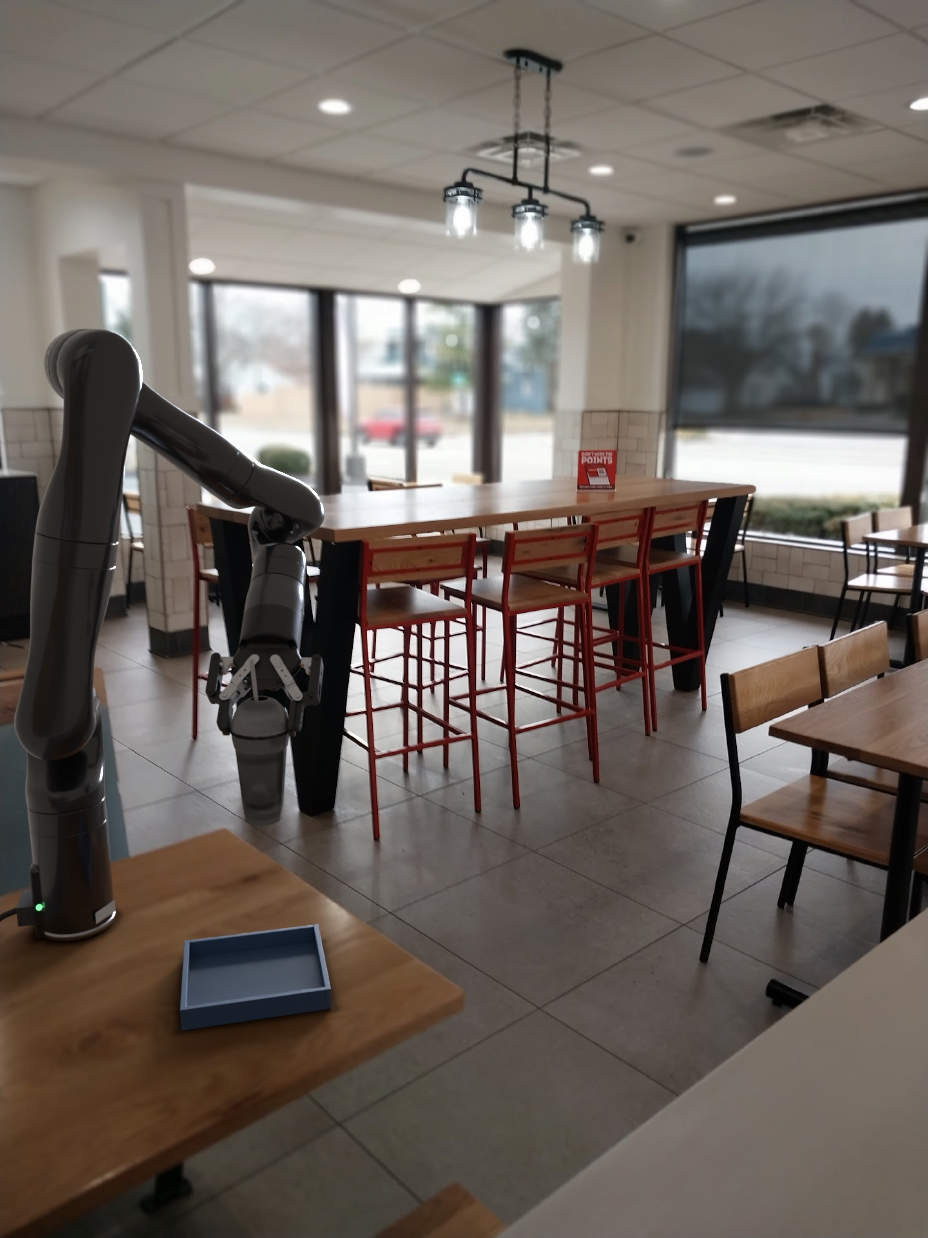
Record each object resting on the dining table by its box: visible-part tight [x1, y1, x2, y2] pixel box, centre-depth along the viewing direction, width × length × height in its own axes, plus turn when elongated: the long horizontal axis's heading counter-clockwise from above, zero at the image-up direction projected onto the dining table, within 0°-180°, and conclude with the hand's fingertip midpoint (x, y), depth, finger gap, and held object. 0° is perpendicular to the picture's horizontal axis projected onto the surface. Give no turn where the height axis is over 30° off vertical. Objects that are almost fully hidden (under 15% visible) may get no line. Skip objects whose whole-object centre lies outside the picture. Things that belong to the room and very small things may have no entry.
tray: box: [179, 923, 332, 1031], centre depth 111 cm, size 16×14×2 cm
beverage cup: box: [230, 660, 290, 827], centre depth 115 cm, size 7×7×20 cm
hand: (258, 733), depth 113 cm, fingers closed on beverage cup, 7 cm apart
